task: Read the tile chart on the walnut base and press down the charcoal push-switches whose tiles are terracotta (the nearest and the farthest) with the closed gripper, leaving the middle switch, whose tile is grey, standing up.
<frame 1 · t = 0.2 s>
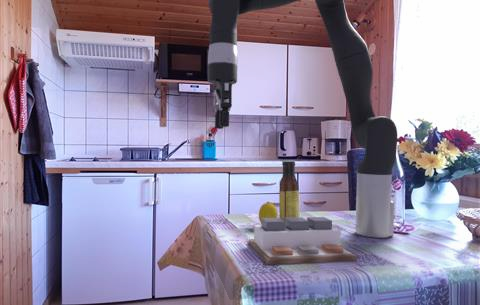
hand: (221, 127, 89), 29 cm above the table, tool pointing down, fingers open, 8 cm apart
switch base: (298, 251, 81), on the table
sauce bottle: (288, 223, 112), on the table
button 1: (319, 227, 84), point 5 cm above the table, slide at 0.0 cm
button 2: (296, 227, 83), point 5 cm above the table, slide at 0.0 cm
switch housing: (295, 248, 83), resting on switch base
lemon: (267, 229, 103), on the table
button 3: (272, 228, 81), point 5 cm above the table, slide at 0.0 cm
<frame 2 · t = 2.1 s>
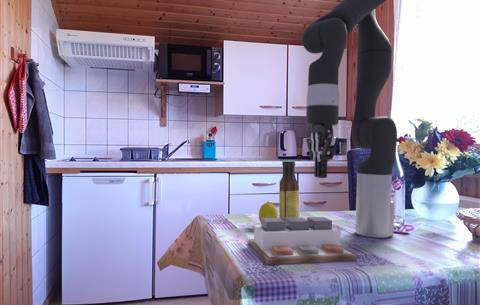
hand: (320, 177, 84), 17 cm above the table, tool pointing down, fingers closed
nothing on the table moved.
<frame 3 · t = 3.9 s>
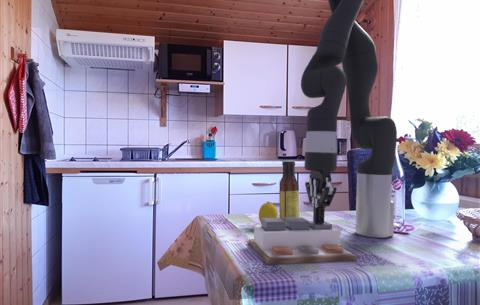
hand: (318, 222, 84), 6 cm above the table, tool pointing down, fingers closed
button 1: (319, 231, 84), point 4 cm above the table, slide at 1.0 cm, touching gripper
everything else where it was.
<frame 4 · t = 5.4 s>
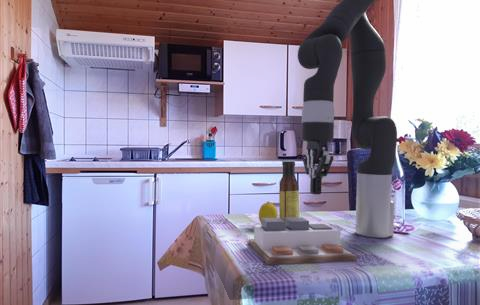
hand: (315, 193, 83), 13 cm above the table, tool pointing down, fingers closed
button 1: (318, 234, 84), point 3 cm above the table, slide at 1.7 cm
everything else where it was.
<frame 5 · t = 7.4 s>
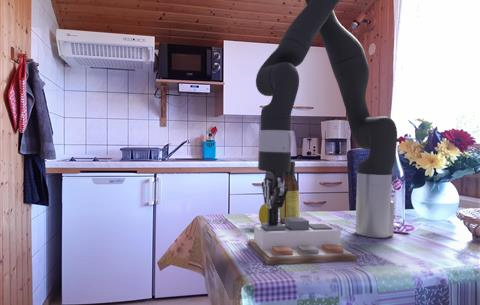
hand: (272, 224, 81), 6 cm above the table, tool pointing down, fingers closed
button 3: (272, 233, 81), point 4 cm above the table, slide at 1.1 cm, touching gripper
everything else where it was.
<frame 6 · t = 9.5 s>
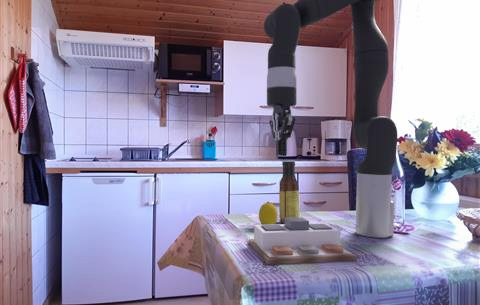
hand: (281, 155, 89), 22 cm above the table, tool pointing down, fingers closed
button 3: (272, 235, 82), point 3 cm above the table, slide at 1.7 cm
everything else where it was.
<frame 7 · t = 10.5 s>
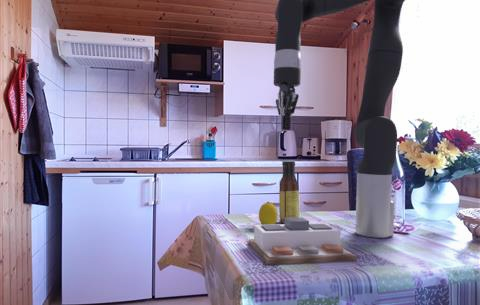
hand: (285, 130, 99), 29 cm above the table, tool pointing down, fingers closed
nothing on the table moved.
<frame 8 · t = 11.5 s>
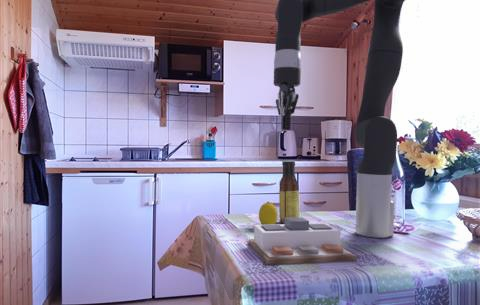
hand: (285, 130, 99), 29 cm above the table, tool pointing down, fingers closed
nothing on the table moved.
at the end: button 1 slide at 1.7 cm; button 3 slide at 1.7 cm; button 2 slide at 0.0 cm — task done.
